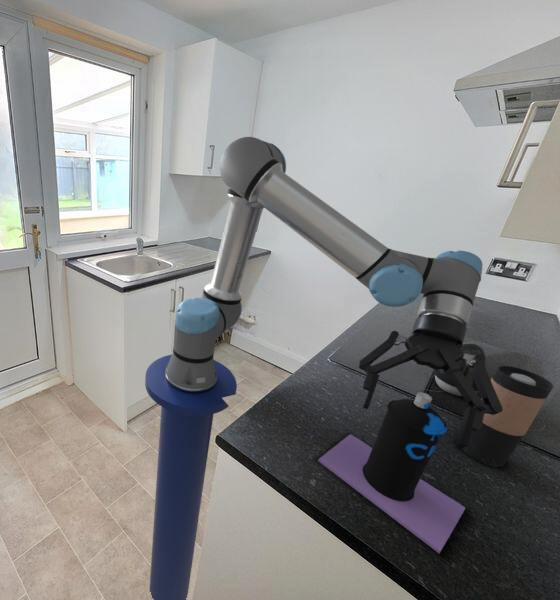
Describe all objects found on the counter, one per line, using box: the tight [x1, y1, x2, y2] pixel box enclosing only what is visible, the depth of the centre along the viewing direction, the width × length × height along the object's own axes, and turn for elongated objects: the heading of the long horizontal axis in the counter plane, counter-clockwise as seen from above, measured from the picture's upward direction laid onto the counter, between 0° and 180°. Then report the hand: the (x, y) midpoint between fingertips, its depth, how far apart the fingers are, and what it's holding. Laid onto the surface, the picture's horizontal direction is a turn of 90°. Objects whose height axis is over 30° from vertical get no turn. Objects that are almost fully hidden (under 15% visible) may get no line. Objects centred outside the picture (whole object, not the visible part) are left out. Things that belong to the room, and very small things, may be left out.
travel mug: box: [461, 365, 554, 468], centre depth 64 cm, size 8×8×20 cm
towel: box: [318, 434, 466, 554], centre depth 59 cm, size 20×13×1 cm, turn 34°
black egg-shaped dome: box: [433, 342, 488, 397], centre depth 86 cm, size 10×10×15 cm
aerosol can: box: [363, 391, 448, 502], centre depth 56 cm, size 8×8×20 cm
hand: (410, 425), depth 55 cm, fingers open, 13 cm apart
